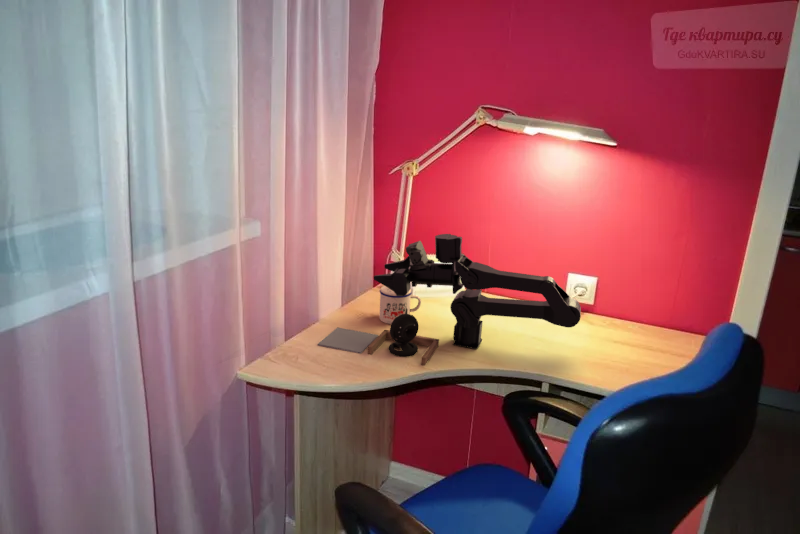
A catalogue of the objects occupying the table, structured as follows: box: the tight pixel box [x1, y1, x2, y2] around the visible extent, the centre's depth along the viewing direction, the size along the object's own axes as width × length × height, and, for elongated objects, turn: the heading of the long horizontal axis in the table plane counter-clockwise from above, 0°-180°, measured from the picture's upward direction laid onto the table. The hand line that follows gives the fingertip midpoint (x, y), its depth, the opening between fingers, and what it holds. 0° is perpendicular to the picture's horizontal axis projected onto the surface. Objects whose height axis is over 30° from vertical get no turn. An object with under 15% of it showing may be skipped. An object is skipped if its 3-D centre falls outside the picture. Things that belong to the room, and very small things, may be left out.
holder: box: [367, 329, 440, 366], centre depth 152 cm, size 15×12×2 cm
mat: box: [317, 327, 380, 355], centre depth 156 cm, size 12×12×1 cm
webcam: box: [388, 313, 419, 358], centre depth 150 cm, size 8×8×10 cm
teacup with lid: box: [378, 285, 422, 325], centre depth 170 cm, size 12×9×12 cm
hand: (379, 271), depth 160 cm, fingers open, 9 cm apart
